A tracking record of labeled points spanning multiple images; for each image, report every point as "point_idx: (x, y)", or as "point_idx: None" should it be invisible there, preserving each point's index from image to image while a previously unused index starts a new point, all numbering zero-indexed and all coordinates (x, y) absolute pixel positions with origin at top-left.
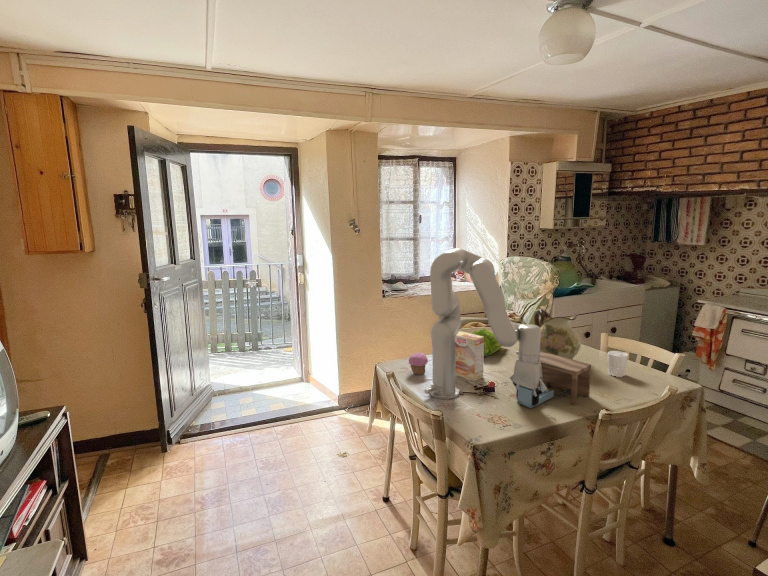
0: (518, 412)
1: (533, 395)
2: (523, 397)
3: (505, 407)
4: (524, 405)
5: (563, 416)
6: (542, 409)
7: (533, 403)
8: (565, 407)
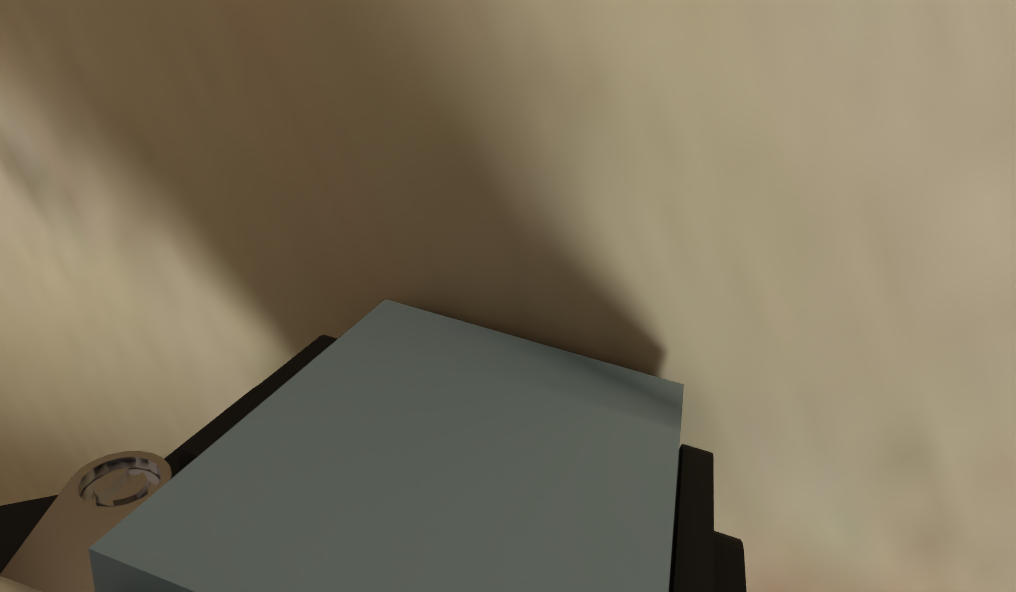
0: (516, 5)
1: None
2: (502, 439)
3: (879, 59)
4: (520, 340)
5: (8, 314)
6: None
7: (300, 353)
8: None
